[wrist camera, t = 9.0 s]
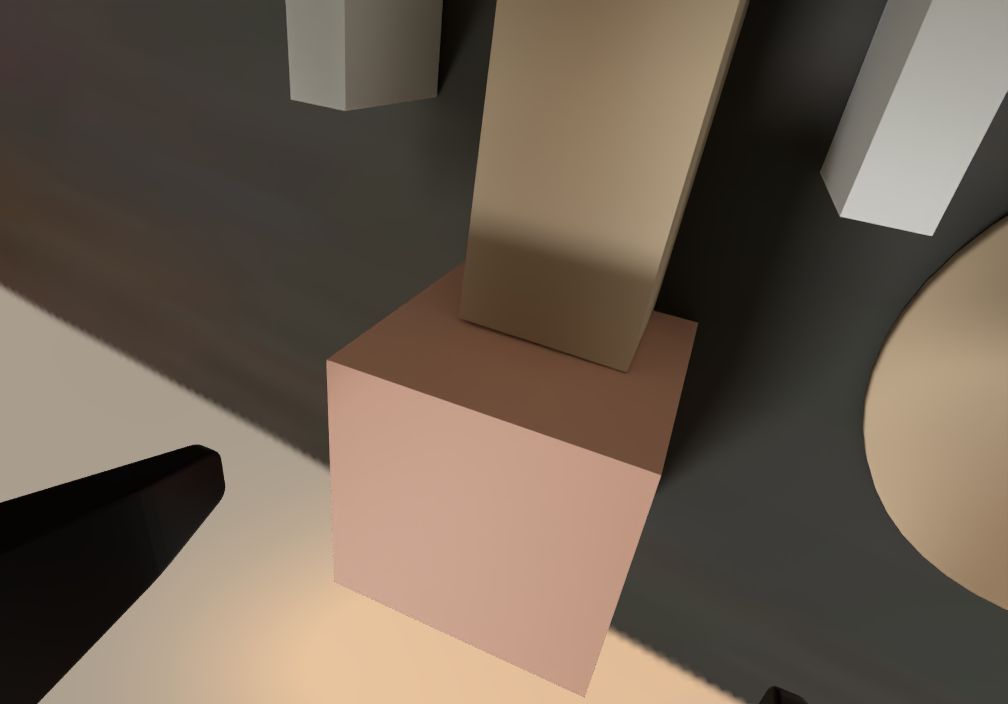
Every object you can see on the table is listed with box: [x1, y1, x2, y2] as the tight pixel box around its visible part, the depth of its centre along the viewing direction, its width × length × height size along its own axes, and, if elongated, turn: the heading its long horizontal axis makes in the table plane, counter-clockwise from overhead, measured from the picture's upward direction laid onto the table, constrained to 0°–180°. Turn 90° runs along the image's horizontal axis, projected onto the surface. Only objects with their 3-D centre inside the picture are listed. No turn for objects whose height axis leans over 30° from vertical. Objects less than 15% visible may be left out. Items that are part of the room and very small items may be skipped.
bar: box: [459, 0, 750, 372], centre depth 8 cm, size 3×10×3 cm, turn 171°
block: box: [327, 262, 698, 697], centre depth 11 cm, size 5×5×5 cm
